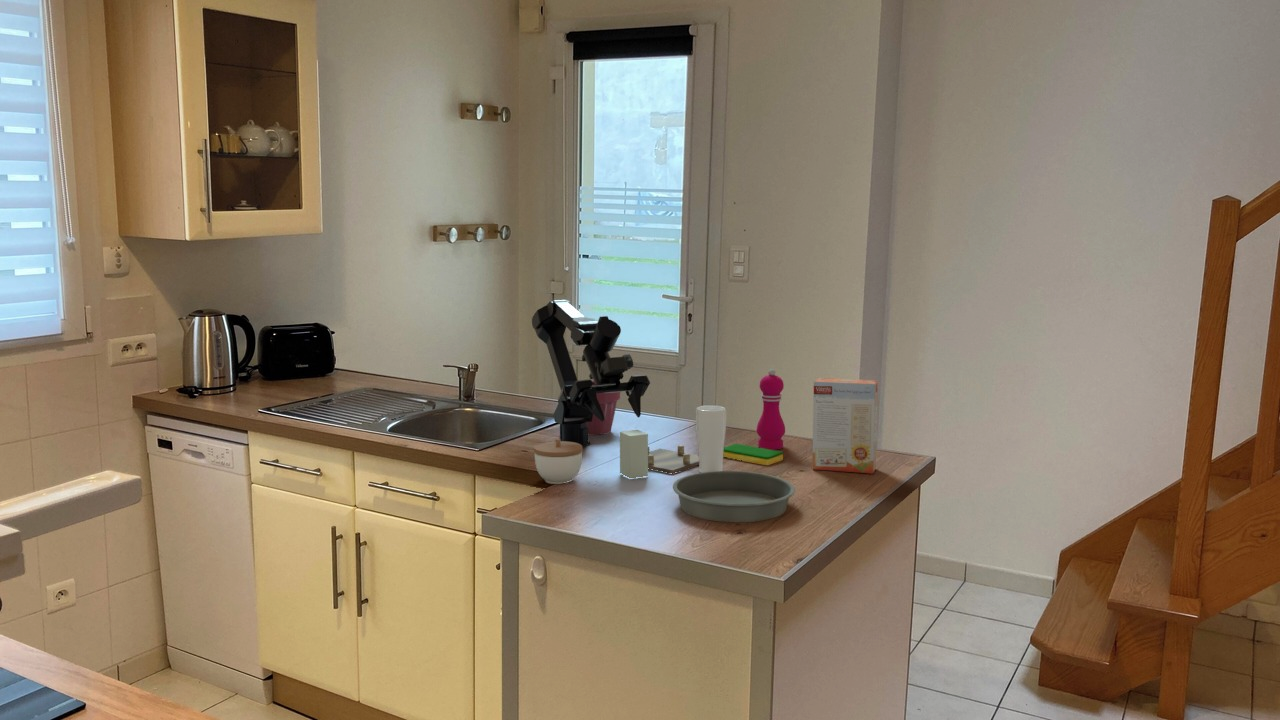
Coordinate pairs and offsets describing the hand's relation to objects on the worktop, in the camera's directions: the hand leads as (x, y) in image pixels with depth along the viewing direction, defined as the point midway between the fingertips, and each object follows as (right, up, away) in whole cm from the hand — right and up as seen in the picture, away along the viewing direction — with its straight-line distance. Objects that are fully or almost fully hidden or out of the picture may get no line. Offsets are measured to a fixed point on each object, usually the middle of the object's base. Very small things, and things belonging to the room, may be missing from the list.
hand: (621, 418), depth 229 cm
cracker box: (+51, -12, +2) cm, 53 cm away
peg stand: (+10, -11, +8) cm, 17 cm away
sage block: (+3, -13, -3) cm, 14 cm away
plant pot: (-8, -6, +43) cm, 44 cm away
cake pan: (+23, -17, -27) cm, 39 cm away
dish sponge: (+31, -11, +13) cm, 35 cm away
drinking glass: (+20, -13, 0) cm, 24 cm away
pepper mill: (+37, -9, +24) cm, 45 cm away
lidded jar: (-14, -14, -7) cm, 21 cm away
